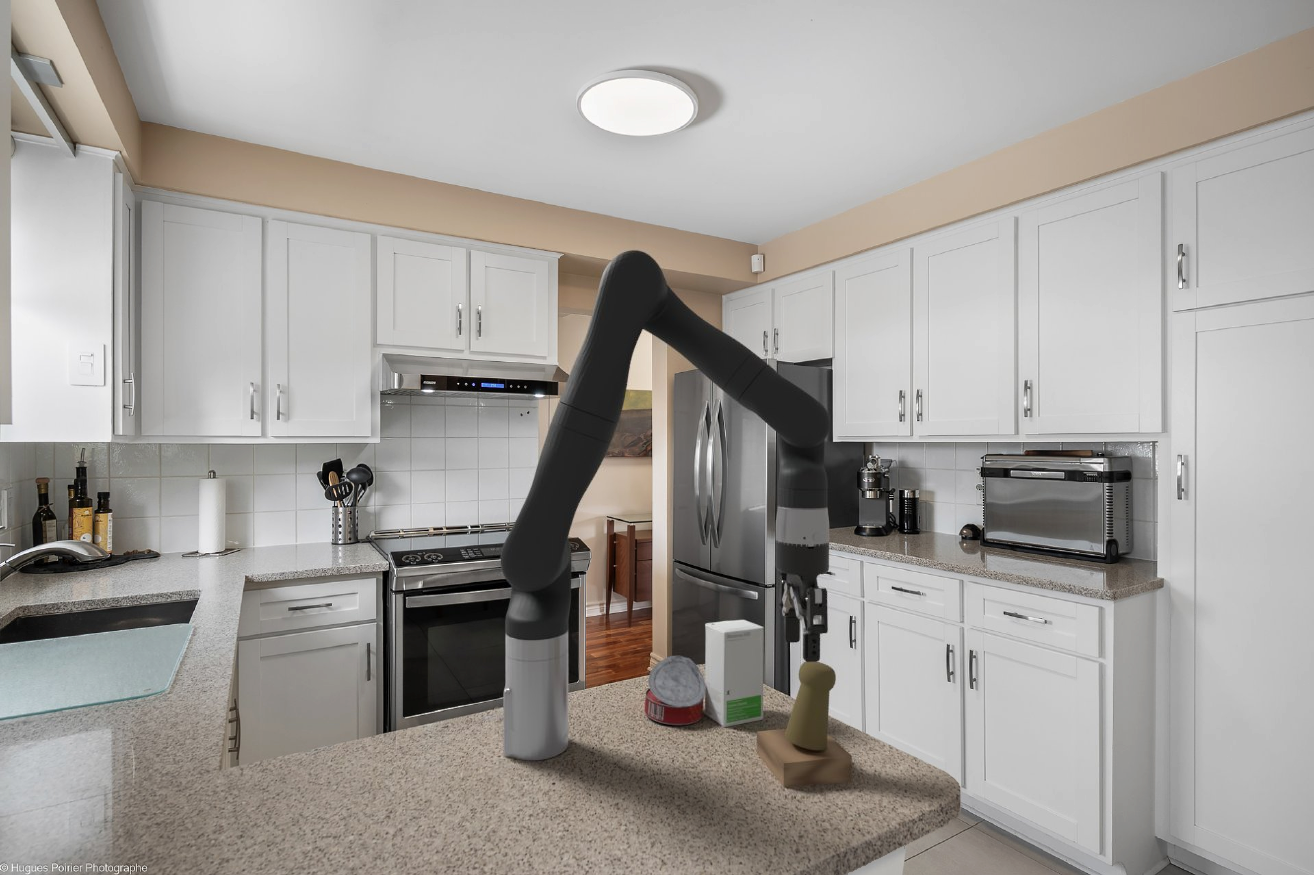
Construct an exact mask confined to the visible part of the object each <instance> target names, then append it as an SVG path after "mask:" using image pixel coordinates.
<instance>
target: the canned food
mask: <svg viewBox="0 0 1314 875" xmlns="http://www.w3.org/2000/svg"><path fill="white" fill-rule="evenodd" d="M647 682H648V686H649V688H648V689H647V690H646V691H645V697H644V701H645V702H644V714H645V716H646V717H647V718H649V719H651V720H652V721H655V722H657V723H660V724H665V725H670V726H671V725H672V726H685V725H692V724H695V723H697V722H699V721H700V720H702V718H703V715H704V714H703V709H704V700H705V689H706V685H705V677H704V675H703V673H702V672H701V671H700V669H699V666H698V665H697V664H696V663H695V662H694V661H693V660H692V659H691V658H689V657H685V656H683V655H680V654H679V655H670V656H667V657H665V658H663V659H662V660H660V661H658V662H657V663H656V664H655V666H654V667H653V668H652V669H651V670H650V673H649V675H648V680H647Z"/></svg>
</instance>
